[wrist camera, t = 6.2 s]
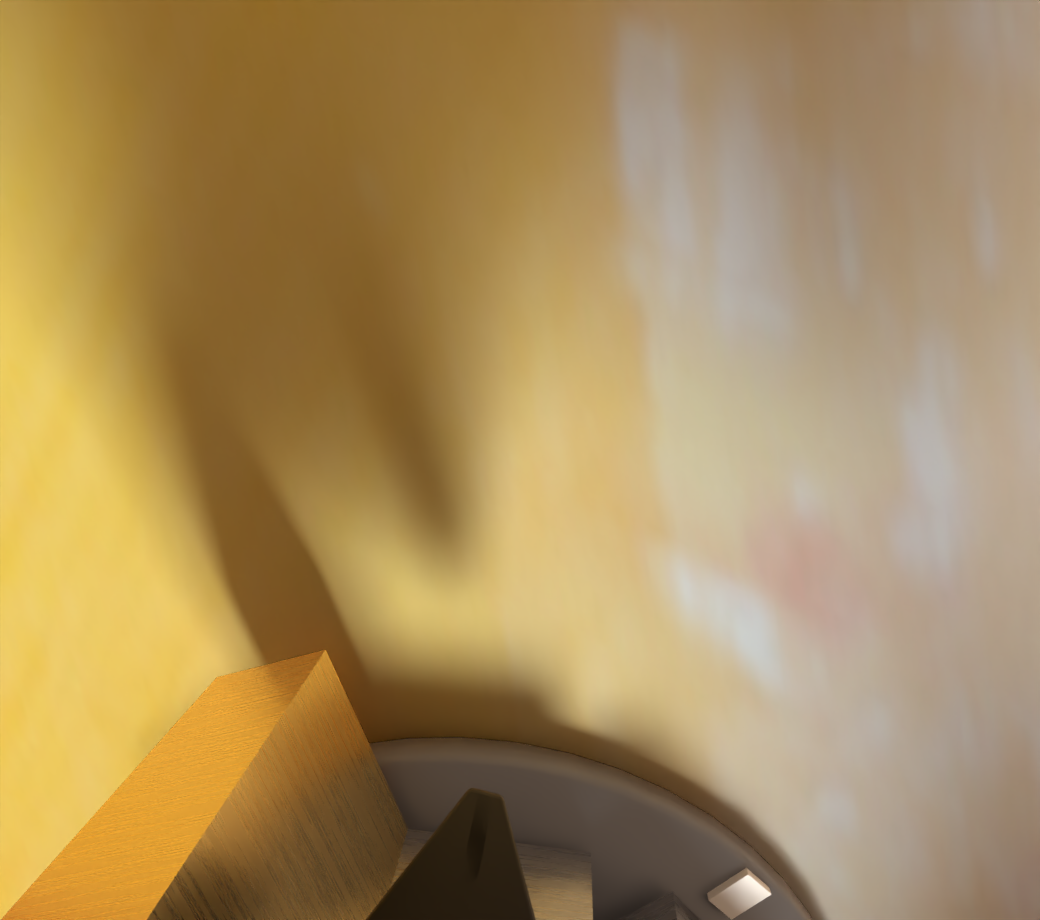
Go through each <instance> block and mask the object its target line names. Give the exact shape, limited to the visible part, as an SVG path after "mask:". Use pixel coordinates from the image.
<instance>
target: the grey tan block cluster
mask: <svg viewBox="0 0 1040 920" xmlns="http://www.w3.org/2000/svg"><path fill="white" fill-rule="evenodd" d="M433 833H434V832H429V831H421V830H414V829H408V828H407V826H406V823H405V821H404V819H403V817H402V815H401V812H400V810H399V808H398V806H397V804H396V802H395V799H394V797H393V795H392V793H391V791H390V788H389V786H388V784H387V782H386V780H385V778H384V775H383V773H382V771H381V769H380V767H379V765H378V762H377V760H376V758H375V756H374V754H373V751H372V749H371V747H370V745H369V743H368V741H367V738H366V736H365V734H364V732H363V730H362V727H361V725H360V723H359V721H358V719H357V717H356V714H355V712H354V710H353V708H352V706H351V703H350V701H349V699H348V697H347V695H346V693H345V690H344V688H343V686H342V684H341V682H340V679H339V677H338V675H337V673H336V671H335V669H334V666H333V664H332V662H331V660H330V658H329V656H328V653H327V651H326V650H322V651H318V652H314V653H311V654H307V655H303V656H299V657H295V658H291V659H287V660H283V661H279V662H275V663H271V664H267V665H263V666H259V667H255V668H251V669H248V670H244V671H240V672H236V673H232V674H228V675H224V676H220V677H217V678H216V679H215V680H214V681H213V682H212V683H211V685H210V686H209V687H208V688H207V689H206V690H205V691H204V692H203V694H202V695H201V696H200V697H199V698H198V699H197V700H196V701H195V703H194V704H193V705H192V706H191V707H190V708H189V709H188V710H187V711H186V713H185V714H184V715H183V716H182V717H181V718H180V719H179V720H178V722H177V723H176V724H175V725H174V726H173V727H172V728H171V729H170V731H169V732H168V733H167V734H166V735H165V736H164V737H163V738H162V740H161V741H160V742H159V743H158V744H157V745H156V746H155V747H154V748H153V750H152V751H151V752H150V753H149V754H148V755H147V756H146V757H145V759H144V760H143V761H142V762H141V763H140V764H139V765H138V766H137V768H136V769H135V770H134V771H133V772H132V773H131V774H130V775H129V777H128V778H127V779H126V780H125V781H124V782H123V783H122V784H121V786H120V787H119V788H118V789H117V790H116V791H115V792H114V793H113V794H112V796H111V797H110V798H109V799H108V800H107V801H106V802H105V803H104V805H103V806H102V807H101V808H100V809H99V810H98V811H97V812H96V814H95V815H94V816H93V817H92V818H91V819H90V820H89V821H88V823H87V824H86V825H85V826H84V827H83V828H82V829H81V830H80V831H79V833H78V834H77V835H76V836H75V837H74V838H73V839H72V840H71V842H70V843H69V844H68V845H67V846H66V847H65V848H64V849H63V851H62V852H61V853H60V854H59V855H58V856H57V857H56V858H55V860H54V861H53V862H52V863H51V864H50V865H49V866H48V867H47V868H46V870H45V871H44V872H43V873H42V874H41V875H40V876H39V877H38V879H37V880H36V881H35V882H34V883H33V884H32V885H31V886H30V888H29V889H28V890H27V891H26V892H25V893H24V894H23V895H22V897H21V898H20V899H19V900H18V901H17V902H16V903H15V904H14V905H13V907H12V908H11V909H10V910H9V911H8V912H7V913H6V914H5V916H4V917H3V918H2V919H1V920H365V919H366V918H367V917H368V915H369V914H370V913H371V912H372V910H373V909H374V908H375V907H376V905H377V904H378V903H379V901H380V900H381V899H382V898H383V896H384V895H385V894H386V893H387V891H388V890H389V889H390V887H391V886H392V885H393V884H394V882H395V881H396V880H397V879H398V877H399V876H400V875H401V873H402V872H403V871H404V870H405V868H406V867H407V866H408V865H409V863H410V862H411V861H412V859H413V858H414V857H415V856H416V854H417V853H418V852H419V851H420V849H421V848H422V847H423V846H424V844H425V843H426V842H427V840H428V839H429V838H430V837H431V835H432V834H433ZM516 847H517V850H518V854H519V858H520V862H521V866H522V869H523V873H524V877H525V881H526V885H527V889H528V892H529V896H530V900H531V904H532V908H533V911H534V915H535V919H536V920H593V907H592V878H591V853H590V852H582V851H575V850H567V849H559V848H552V847H544V846H536V845H529V844H521V843H516ZM619 920H700V919H699V918H698V917H697V916H696V915H695V914H694V913H693V912H692V911H691V910H690V909H689V908H688V907H687V906H686V905H685V904H684V903H683V902H682V901H681V900H680V898H679V897H678V896H677V895H676V894H675V893H674V892H673V891H672V892H670V893H668V894H666V895H664V896H662V897H660V898H659V899H657V900H655V901H653V902H651V903H649V904H647V905H646V906H644V907H642V908H640V909H638V910H636V911H634V912H632V913H631V914H629V915H627V916H625V917H623V918H621V919H619Z"/></svg>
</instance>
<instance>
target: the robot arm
mask: <svg viewBox="0 0 1040 920" xmlns="http://www.w3.org/2000/svg"><path fill="white" fill-rule="evenodd" d="M365 920H536V919H535V915H534V911H533V908H532V904H531V900H530V896H529V892H528V889H527V885H526V881H525V877H524V873H523V869H522V866H521V862H520V858H519V854H518V850H517V847H516V843H515V839H514V835H513V831H512V827H511V824H510V820H509V816H508V812H507V808H506V805H505V801H504V799H503V797H502V796H501V795H499V794H496V793H492V792H488V791H484V790H481V789H477V788H470V789H468V790H467V791H466V792H465V793H464V795H463V796H462V797H461V798H460V800H459V801H458V802H457V804H456V805H455V806H454V807H453V809H452V810H451V811H450V812H449V814H448V815H447V816H446V818H445V819H444V820H443V821H442V823H441V824H440V825H439V826H438V828H437V829H436V830H435V832H434V833H433V834H432V835H431V837H430V838H429V839H428V840H427V842H426V843H425V844H424V846H423V847H422V848H421V849H420V851H419V852H418V853H417V854H416V856H415V857H414V858H413V859H412V861H411V862H410V863H409V865H408V866H407V867H406V868H405V870H404V871H403V872H402V873H401V875H400V876H399V877H398V879H397V880H396V881H395V882H394V884H393V885H392V886H391V887H390V889H389V890H388V891H387V893H386V894H385V895H384V896H383V898H382V899H381V900H380V901H379V903H378V904H377V905H376V907H375V908H374V909H373V910H372V912H371V913H370V914H369V915H368V917H367V918H366V919H365Z"/></svg>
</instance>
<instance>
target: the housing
mask: <svg viewBox="0 0 1040 920" xmlns="http://www.w3.org/2000/svg"><path fill="white" fill-rule="evenodd" d="M369 745H370V747H371V749H372V751H373V754H374V756H375V758H376V760H377V762H378V765H379V767H380V769H381V771H382V773H383V775H384V778H385V780H386V782H387V784H388V786H389V788H390V791H391V793H392V795H393V797H394V799H395V802H396V804H397V806H398V808H399V810H400V812H401V815H402V817H403V819H404V821H405V823H406V826H407V828H408V829H414V830H421V831H429V832H435V830H436V829H437V828H438V826H439V825H440V824H441V823H442V821H443V820H444V819H445V818H446V816H447V815H448V814H449V812H450V811H451V810H452V809H453V807H454V806H455V805H456V804H457V802H458V801H459V800H460V798H461V797H462V796H463V795H464V793H465V792H466V791H467V790H468V789H470V788H477V789H481V790H484V791H488V792H492V793H496V794H499V795H501V796H502V797H503V799H504V801H505V805H506V808H507V812H508V816H509V820H510V824H511V827H512V831H513V835H514V839H515V843H521V844H529V845H536V846H544V847H552V848H559V849H567V850H575V851H582V852H590V853H591V878H592V907H593V920H619V919H621V918H623V917H625V916H627V915H629V914H631V913H632V912H634V911H636V910H638V909H640V908H642V907H644V906H646V905H647V904H649V903H651V902H653V901H655V900H657V899H659V898H660V897H662V896H664V895H666V894H668V893H670V892H672V891H673V892H674V893H675V894H676V895H677V896H678V897H679V898H680V900H681V901H682V902H683V903H684V904H685V905H686V906H687V907H688V908H689V909H690V910H691V911H692V912H693V913H694V914H695V915H696V916H697V917H698V918H699V919H700V920H812V919H811V917H810V915H809V913H808V911H807V910H806V909H805V907H804V906H803V905H802V903H801V902H800V901H799V899H798V898H797V897H796V895H795V894H794V893H793V891H792V890H791V889H790V887H789V886H788V885H787V883H786V882H785V881H784V879H783V878H782V877H781V876H780V875H779V874H778V873H777V872H776V871H775V870H774V869H773V868H772V867H771V866H770V865H769V864H768V863H767V862H766V861H765V860H764V859H763V858H762V857H761V856H760V855H759V854H758V853H757V852H756V851H755V850H754V849H753V848H752V847H751V846H750V845H749V844H747V843H746V842H745V841H743V840H742V839H741V838H740V837H738V836H737V835H736V834H734V833H733V832H732V831H730V830H729V829H728V828H726V827H725V826H724V825H723V824H721V823H720V822H719V821H717V820H716V819H715V818H713V817H712V816H711V815H709V814H707V813H705V812H704V811H702V810H700V809H699V808H697V807H695V806H693V805H692V804H690V803H688V802H687V801H685V800H683V799H682V798H680V797H678V796H676V795H675V794H673V793H671V792H670V791H668V790H666V789H664V788H661V787H659V786H657V785H654V784H652V783H650V782H648V781H645V780H643V779H641V778H639V777H636V776H634V775H632V774H630V773H627V772H625V771H623V770H620V769H618V768H615V767H612V766H608V765H605V764H602V763H599V762H596V761H592V760H589V759H586V758H583V757H580V756H577V755H573V754H570V753H567V752H562V751H557V750H552V749H547V748H542V747H537V746H532V745H527V744H522V743H517V742H509V741H497V740H486V739H475V738H464V737H446V738H407V739H399V740H392V741H385V742H377V743H370V744H369Z"/></svg>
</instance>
